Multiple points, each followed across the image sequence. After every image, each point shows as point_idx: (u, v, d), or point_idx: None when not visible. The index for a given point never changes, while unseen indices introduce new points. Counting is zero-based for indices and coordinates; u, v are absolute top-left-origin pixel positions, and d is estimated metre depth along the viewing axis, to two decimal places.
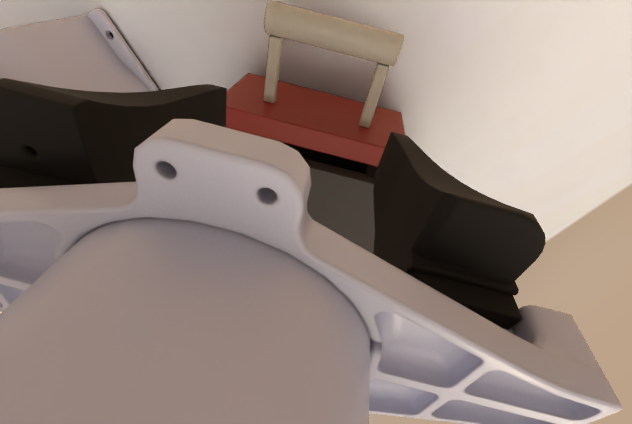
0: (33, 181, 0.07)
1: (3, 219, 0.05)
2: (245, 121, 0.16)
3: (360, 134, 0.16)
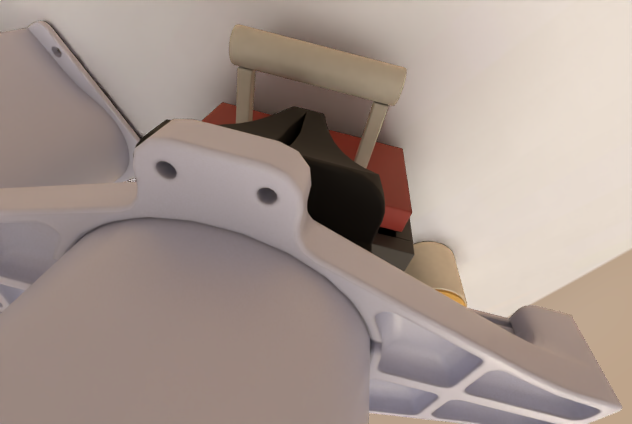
0: None
1: (4, 219, 0.05)
2: None
3: None
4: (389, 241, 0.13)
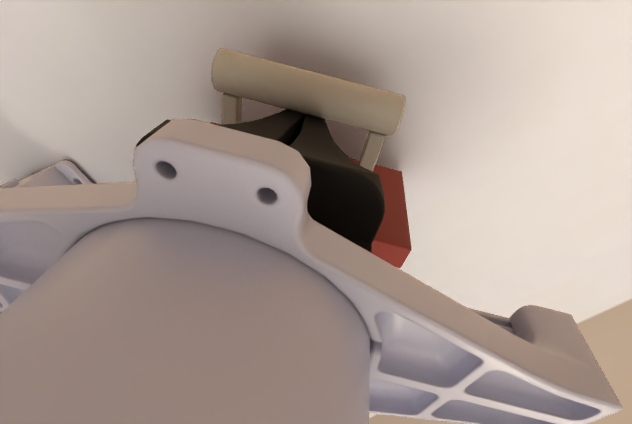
0: None
1: (3, 219, 0.05)
2: None
3: None
4: None
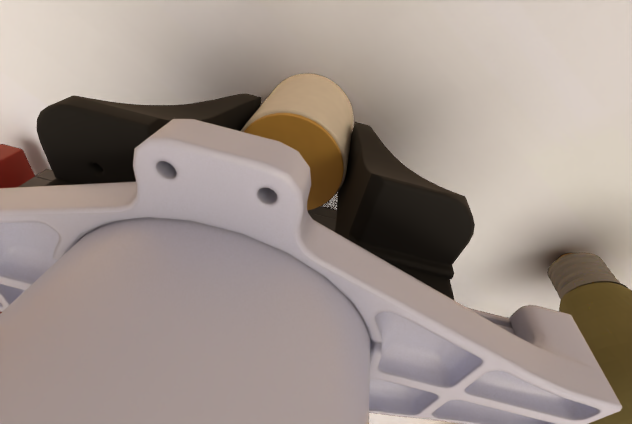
0: None
1: (4, 219, 0.05)
2: None
3: None
4: None
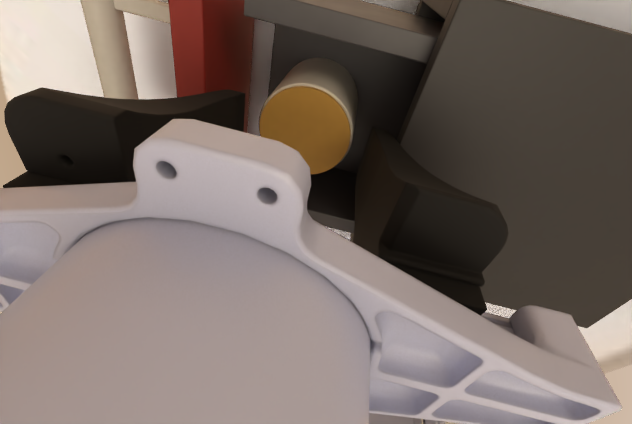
0: None
1: (4, 219, 0.05)
2: None
3: None
4: (442, 33, 0.09)
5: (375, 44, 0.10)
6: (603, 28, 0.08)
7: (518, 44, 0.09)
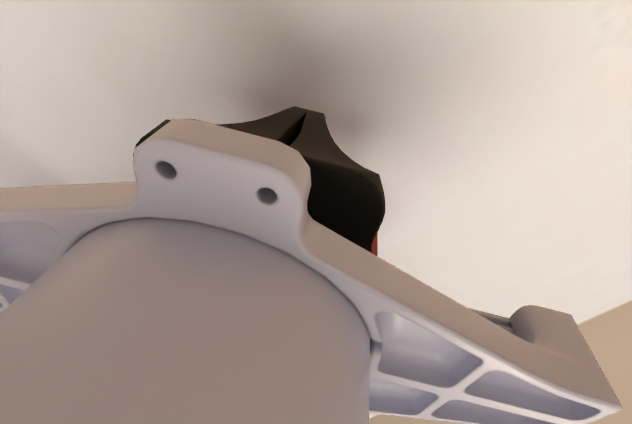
0: None
1: (3, 219, 0.05)
2: None
3: None
4: None
5: None
6: None
7: None
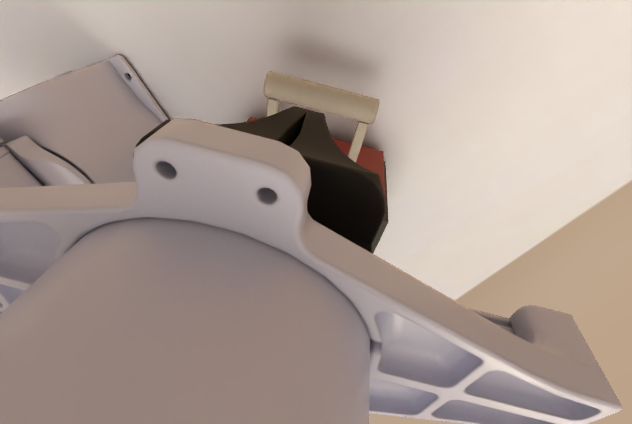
0: None
1: (4, 219, 0.05)
2: None
3: None
4: None
5: None
6: None
7: None
